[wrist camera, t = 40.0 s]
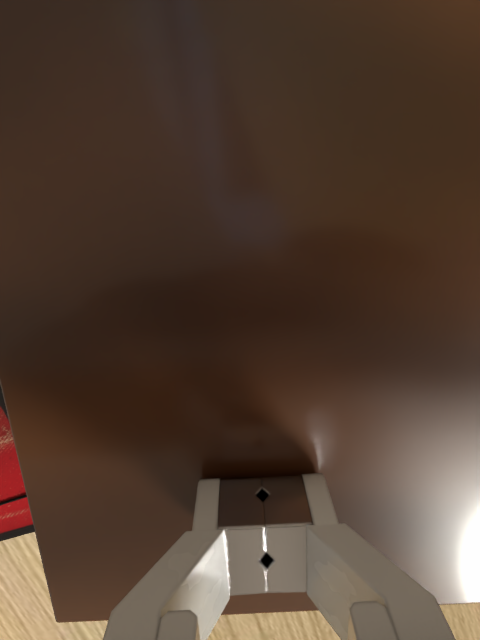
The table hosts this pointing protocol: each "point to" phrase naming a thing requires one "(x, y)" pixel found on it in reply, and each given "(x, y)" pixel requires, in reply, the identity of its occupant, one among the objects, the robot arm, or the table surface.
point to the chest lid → (241, 275)
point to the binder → (11, 485)
